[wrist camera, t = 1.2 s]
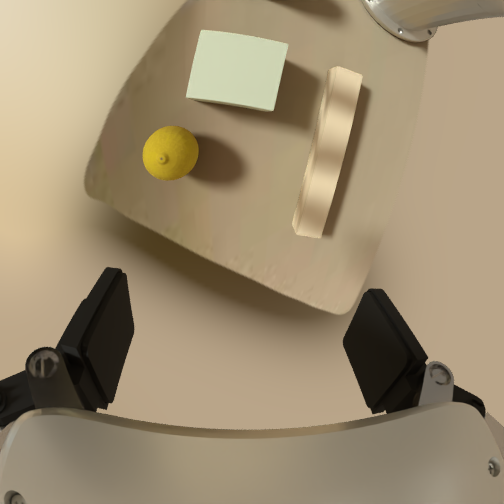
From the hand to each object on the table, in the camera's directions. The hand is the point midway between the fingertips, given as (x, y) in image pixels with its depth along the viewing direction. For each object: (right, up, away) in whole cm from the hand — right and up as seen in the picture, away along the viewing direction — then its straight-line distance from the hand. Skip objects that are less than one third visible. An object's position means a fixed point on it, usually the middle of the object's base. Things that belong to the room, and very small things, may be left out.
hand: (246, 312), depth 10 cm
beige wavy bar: (+9, +14, +20) cm, 26 cm away
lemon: (-8, +14, +19) cm, 25 cm away
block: (-2, +21, +15) cm, 26 cm away
